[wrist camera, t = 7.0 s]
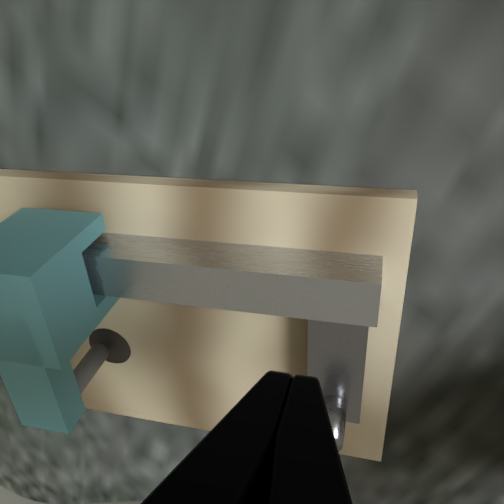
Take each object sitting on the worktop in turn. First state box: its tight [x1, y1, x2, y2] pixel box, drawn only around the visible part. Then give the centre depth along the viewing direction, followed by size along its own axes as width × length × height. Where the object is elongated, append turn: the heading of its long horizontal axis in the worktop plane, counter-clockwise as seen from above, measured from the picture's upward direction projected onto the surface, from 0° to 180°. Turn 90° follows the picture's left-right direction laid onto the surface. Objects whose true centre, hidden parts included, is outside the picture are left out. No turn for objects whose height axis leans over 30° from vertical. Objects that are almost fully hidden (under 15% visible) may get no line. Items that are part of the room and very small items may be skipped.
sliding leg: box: [0, 208, 120, 434], centre depth 21 cm, size 4×9×5 cm, turn 3°
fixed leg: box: [307, 320, 369, 452], centre depth 20 cm, size 2×6×4 cm, turn 3°
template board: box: [0, 169, 418, 462], centre depth 24 cm, size 19×15×1 cm
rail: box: [82, 233, 383, 327], centre depth 21 cm, size 17×2×2 cm, turn 93°
